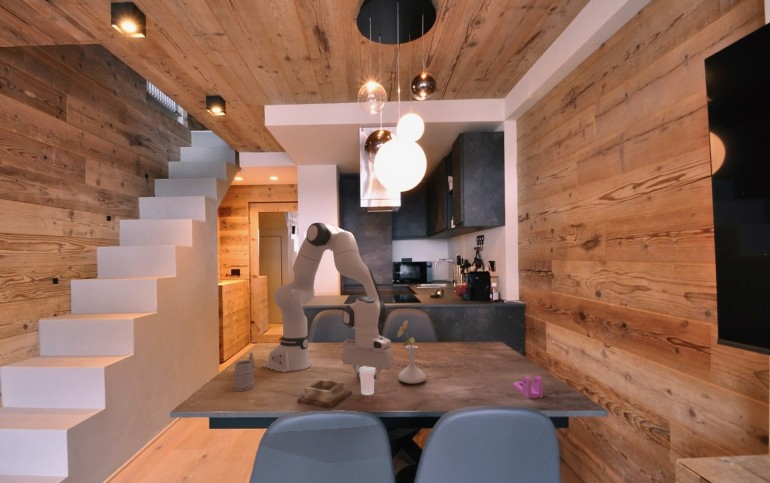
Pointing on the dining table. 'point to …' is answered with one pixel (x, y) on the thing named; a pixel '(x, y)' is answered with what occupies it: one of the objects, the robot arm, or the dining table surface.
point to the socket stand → (325, 393)
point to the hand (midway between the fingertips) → (367, 377)
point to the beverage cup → (367, 380)
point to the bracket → (530, 387)
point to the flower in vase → (410, 361)
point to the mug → (244, 374)
